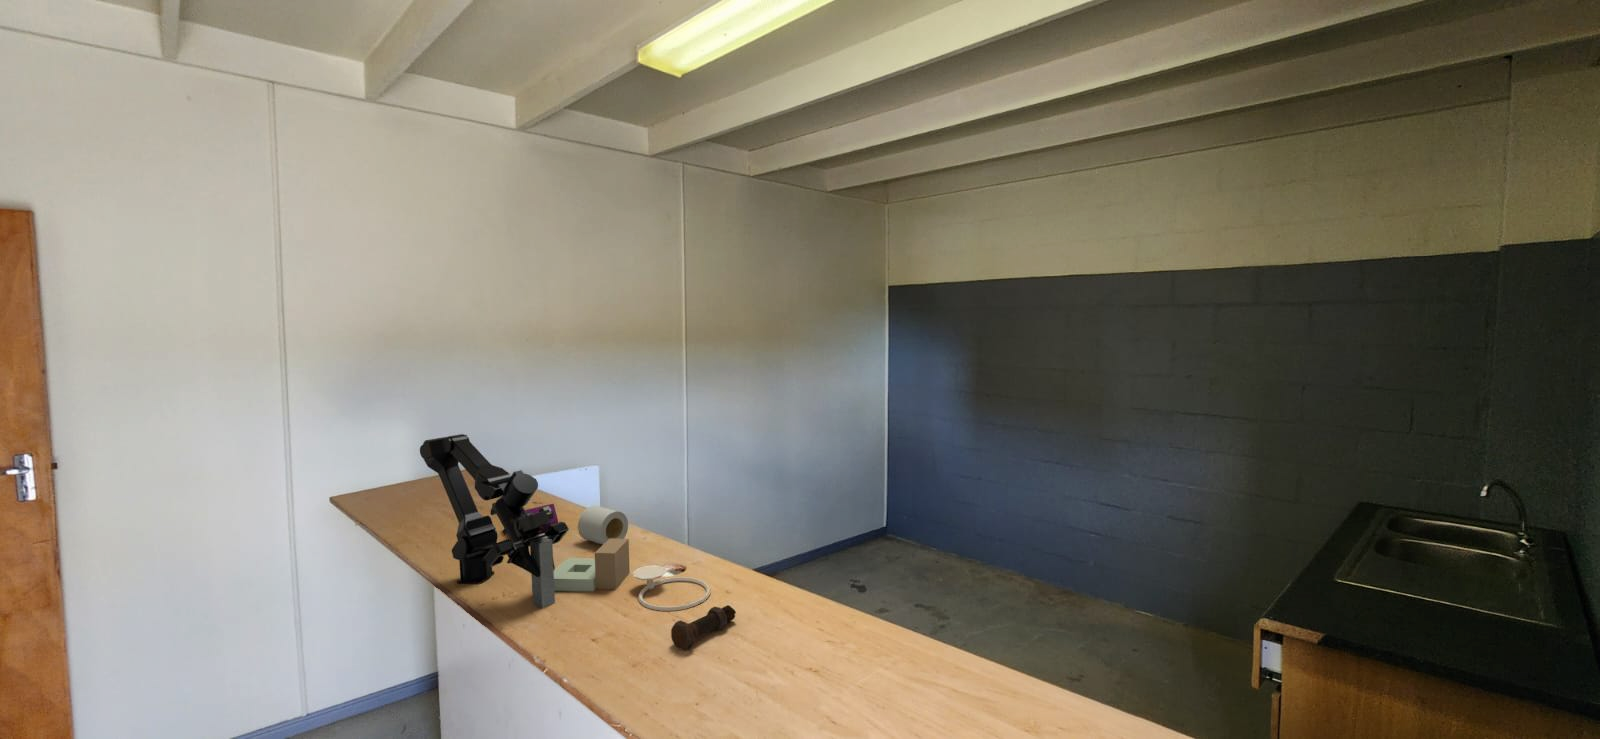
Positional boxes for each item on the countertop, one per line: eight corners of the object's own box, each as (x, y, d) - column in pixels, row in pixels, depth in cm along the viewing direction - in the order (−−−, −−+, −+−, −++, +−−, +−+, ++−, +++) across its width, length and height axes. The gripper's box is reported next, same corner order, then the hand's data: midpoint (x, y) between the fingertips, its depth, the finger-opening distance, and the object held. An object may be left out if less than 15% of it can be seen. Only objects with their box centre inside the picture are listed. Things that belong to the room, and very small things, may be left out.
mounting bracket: (507, 551, 199) (529, 538, 187) (501, 524, 201) (522, 510, 189) (537, 542, 206) (560, 530, 194) (531, 517, 207) (553, 503, 196)
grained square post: (532, 604, 149) (529, 541, 147) (545, 599, 151) (542, 537, 150) (542, 608, 147) (539, 544, 145) (554, 602, 150) (552, 539, 148)
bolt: (733, 629, 140) (681, 656, 128) (719, 612, 143) (667, 637, 131) (743, 610, 138) (692, 636, 126) (729, 593, 141) (676, 617, 129)
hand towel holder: (677, 600, 141) (610, 581, 152) (678, 619, 142) (611, 598, 152) (724, 573, 156) (661, 556, 166) (725, 590, 156) (661, 573, 167)
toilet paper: (578, 544, 188) (577, 510, 187) (606, 534, 196) (605, 502, 195) (600, 551, 182) (599, 516, 181) (628, 540, 190) (627, 507, 189)
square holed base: (545, 590, 156) (543, 554, 155) (568, 569, 169) (566, 535, 168) (613, 591, 155) (612, 555, 154) (631, 570, 168) (630, 536, 167)
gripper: (490, 508, 141) (524, 567, 136) (562, 488, 157) (594, 541, 152) (471, 537, 146) (503, 595, 141) (543, 515, 162) (574, 566, 157)
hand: (546, 573), depth 148 cm, fingers closed on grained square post, 3 cm apart
